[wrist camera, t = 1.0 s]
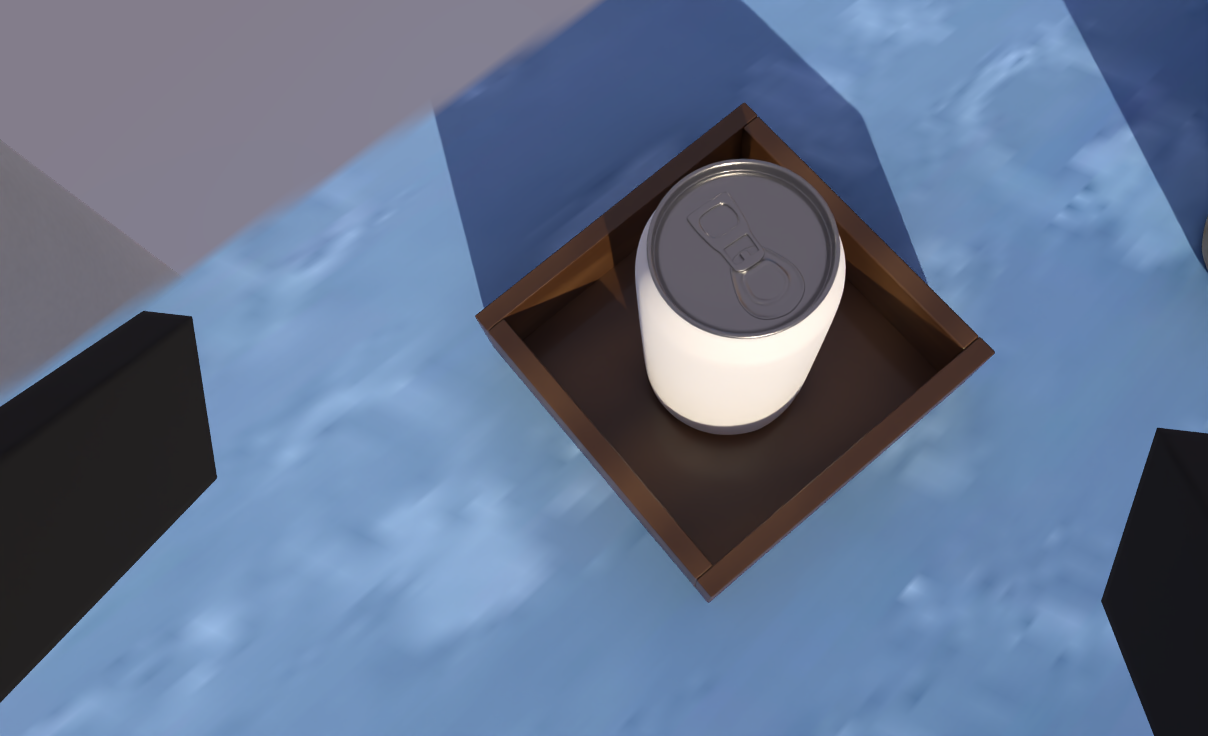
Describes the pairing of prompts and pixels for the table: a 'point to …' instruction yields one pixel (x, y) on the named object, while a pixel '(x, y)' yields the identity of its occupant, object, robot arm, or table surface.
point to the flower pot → (1205, 243)
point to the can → (736, 293)
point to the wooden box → (742, 461)
